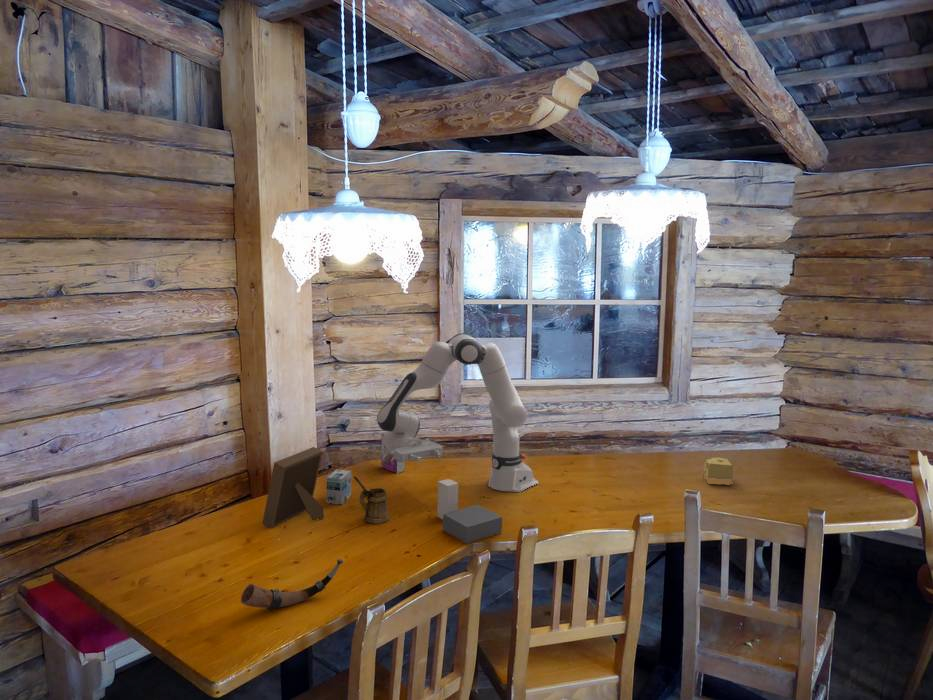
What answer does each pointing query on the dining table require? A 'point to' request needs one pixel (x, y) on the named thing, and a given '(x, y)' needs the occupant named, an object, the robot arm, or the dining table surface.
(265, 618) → the dining table surface
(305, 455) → the photo frame
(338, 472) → the light bulb box
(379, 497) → the wooden mug
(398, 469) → the candy bar box
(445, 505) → the carton
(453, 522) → the podium
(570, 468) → the dining table surface
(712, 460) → the cheese
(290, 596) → the drinking horn
